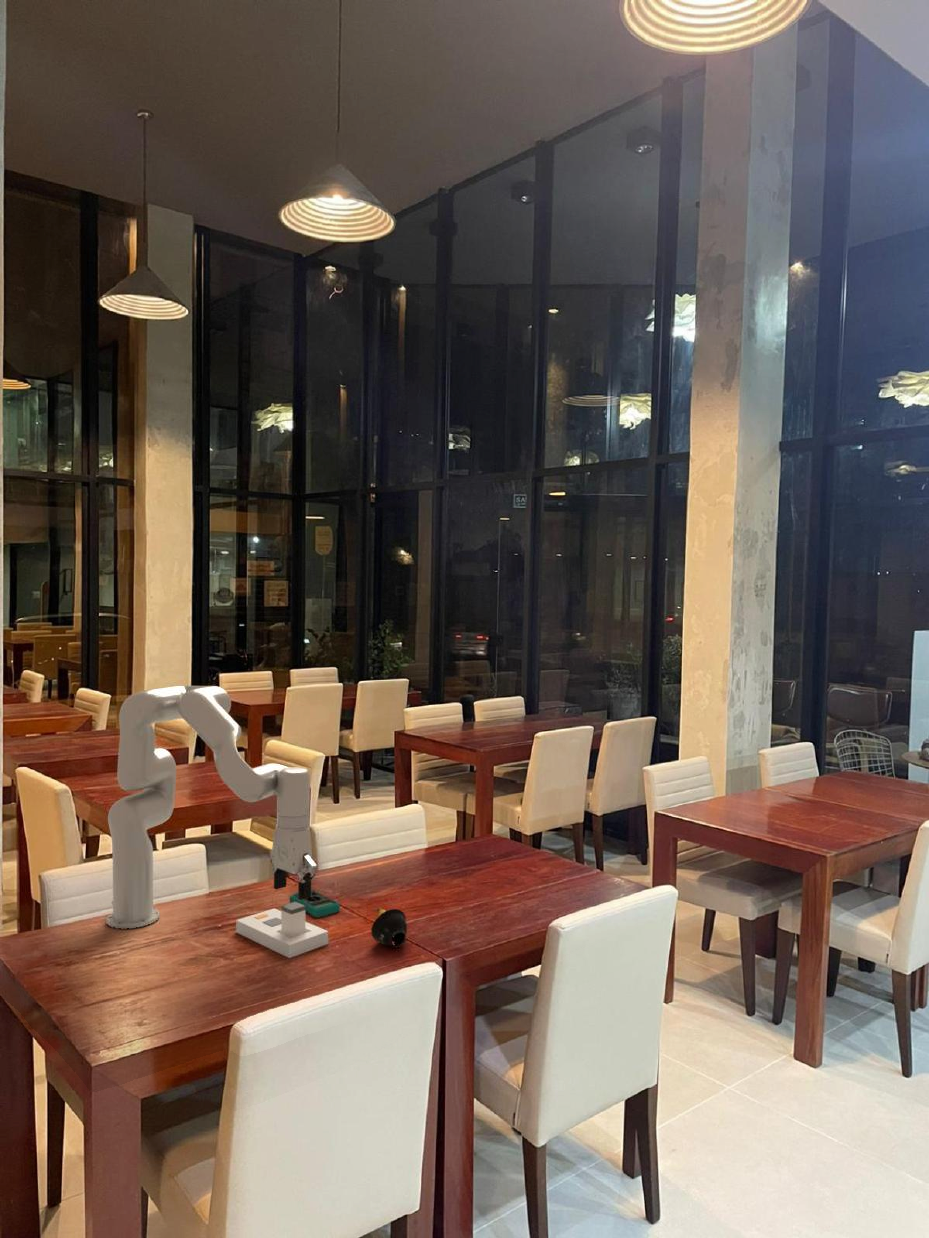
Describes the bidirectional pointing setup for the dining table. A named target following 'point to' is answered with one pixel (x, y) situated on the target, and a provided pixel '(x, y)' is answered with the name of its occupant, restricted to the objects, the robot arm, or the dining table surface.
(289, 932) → the plug
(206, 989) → the dining table surface
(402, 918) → the fried shrimp in bowl
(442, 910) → the dining table surface
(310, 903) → the digital multimeter
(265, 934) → the power strip
